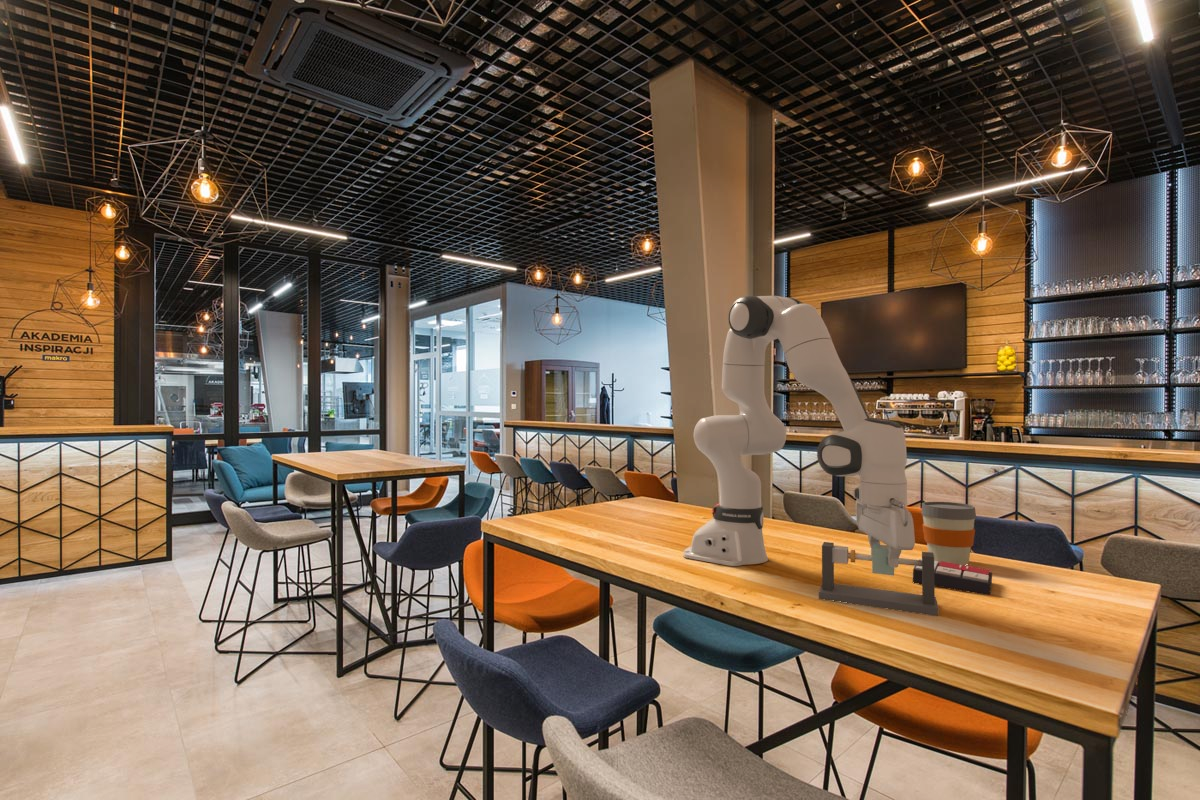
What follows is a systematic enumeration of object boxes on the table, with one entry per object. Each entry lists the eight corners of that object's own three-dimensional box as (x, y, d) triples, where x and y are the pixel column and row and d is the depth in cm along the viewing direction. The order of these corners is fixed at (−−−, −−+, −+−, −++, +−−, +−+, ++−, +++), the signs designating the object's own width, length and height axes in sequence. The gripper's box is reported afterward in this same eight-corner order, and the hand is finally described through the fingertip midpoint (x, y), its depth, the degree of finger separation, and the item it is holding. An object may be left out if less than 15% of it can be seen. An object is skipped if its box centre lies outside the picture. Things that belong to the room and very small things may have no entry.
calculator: (990, 580, 124) (913, 565, 133) (989, 599, 124) (912, 584, 133) (992, 568, 133) (919, 555, 142) (991, 587, 133) (918, 573, 142)
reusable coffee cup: (975, 559, 154) (974, 503, 154) (978, 570, 143) (977, 510, 144) (922, 553, 161) (921, 500, 161) (921, 563, 150) (920, 506, 150)
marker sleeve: (872, 573, 119) (872, 548, 119) (873, 567, 123) (873, 543, 123) (894, 575, 117) (893, 551, 117) (894, 569, 121) (894, 545, 121)
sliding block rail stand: (818, 599, 122) (818, 547, 122) (823, 588, 129) (822, 539, 129) (938, 616, 112) (937, 559, 112) (935, 603, 119) (935, 550, 119)
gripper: (923, 503, 110) (924, 576, 109) (878, 489, 130) (879, 550, 130) (889, 503, 110) (890, 575, 110) (850, 488, 130) (851, 549, 130)
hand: (884, 561), depth 120 cm, fingers open, 6 cm apart
